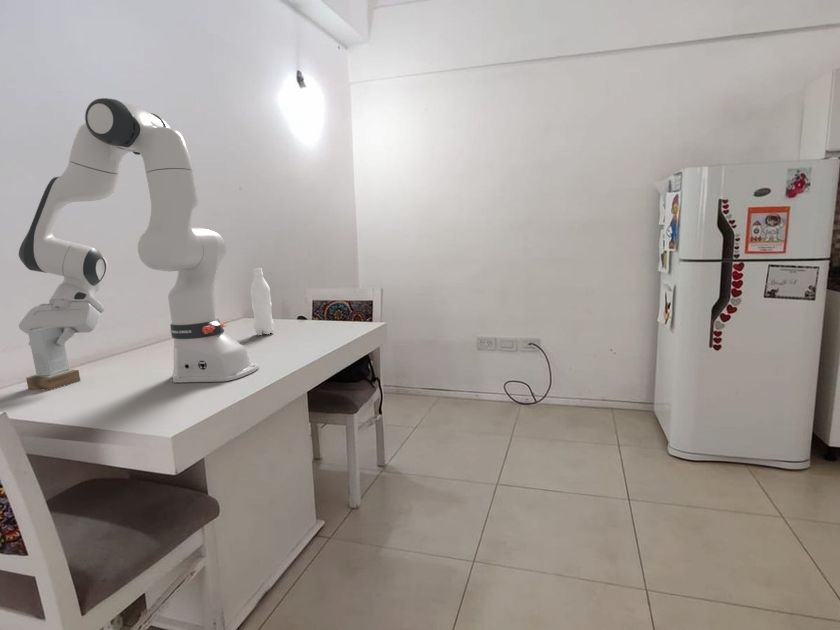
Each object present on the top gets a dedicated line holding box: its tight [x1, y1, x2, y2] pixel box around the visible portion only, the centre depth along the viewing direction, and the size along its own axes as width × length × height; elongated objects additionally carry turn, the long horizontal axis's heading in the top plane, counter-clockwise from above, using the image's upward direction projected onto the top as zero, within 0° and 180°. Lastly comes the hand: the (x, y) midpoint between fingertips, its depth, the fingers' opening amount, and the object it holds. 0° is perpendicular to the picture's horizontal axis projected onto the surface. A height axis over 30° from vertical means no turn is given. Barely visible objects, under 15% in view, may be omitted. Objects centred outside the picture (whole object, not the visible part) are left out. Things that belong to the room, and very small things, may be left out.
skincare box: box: [27, 327, 70, 376], centre depth 127 cm, size 6×4×12 cm
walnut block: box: [25, 368, 81, 391], centre depth 128 cm, size 8×8×3 cm
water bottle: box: [249, 267, 275, 336], centre depth 181 cm, size 7×7×25 cm
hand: (45, 345), depth 126 cm, fingers open, 6 cm apart
